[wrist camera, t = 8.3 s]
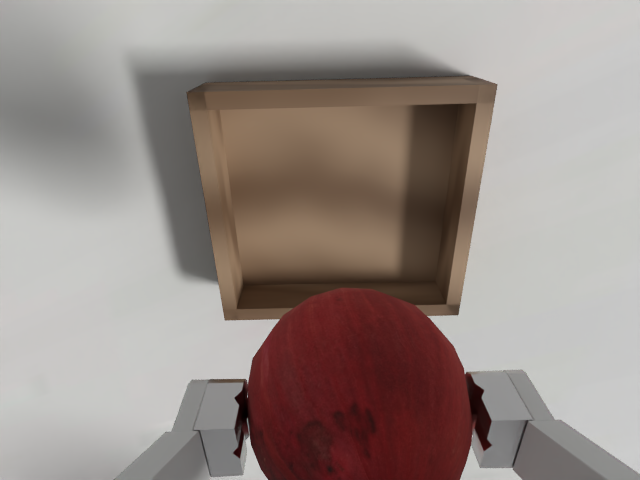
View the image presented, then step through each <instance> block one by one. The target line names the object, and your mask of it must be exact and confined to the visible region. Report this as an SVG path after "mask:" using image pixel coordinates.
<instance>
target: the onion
mask: <svg viewBox="0 0 640 480" xmlns="http://www.w3.org/2000/svg"><path fill="white" fill-rule="evenodd" d="M247 418H248V425H249V432H250V440H251V446H252V448H253V451H254V453H255V456H256V458H257V461H258V463H259V465H260V468H261V470H262V471H263V473H264V474H265V476H266V477H267V479H268V480H460V477H461V475H462V472H463V469H464V467H465V464H466V461H467V457H468V454H469V450H470V446H471V442H472V428H473V421H472V415H471V408H470V402H469V396H468V391H467V385H466V379H465V373H464V368H463V366H462V364H461V361H460V359H459V357H458V355H457V353H456V351H455V348H454V346H453V345H452V344H451V343H450V342H449V340H448V339H447V338H446V337H445V336H444V335H443V333H442V332H441V331H440V330H439V329H438V328H437V327H436V325H435V324H434V323H433V322H432V321H431V320H430V318H428V317H427V316H426V315H425V314H424V313H423V312H422V311H421V310H420V309H419V308H417V307H416V306H415V305H414V304H411V303H408V302H406V301H403V300H400V299H398V298H395V297H392V296H390V295H387V294H385V293H382V292H379V291H376V290H373V289H360V288H339V289H335V290H332V291H328V292H325V293H321V294H318V295H314V296H311V297H309V298H308V299H307V300H305V301H304V302H302V303H301V304H299V305H298V306H296V307H295V308H293V309H292V310H290V311H289V312H287V313H286V314H284V315H283V316H282V318H281V319H280V320H279V322H278V323H277V324H276V325H275V327H274V328H273V329H272V331H271V332H270V334H269V335H268V337H267V338H266V340H265V341H264V343H263V344H262V346H261V347H260V349H259V350H258V352H257V353H256V354H255V356H254V357H253V360H252V365H251V371H250V376H249V382H248V416H247Z"/></svg>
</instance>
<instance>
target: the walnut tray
mask: <svg viewBox="0 0 640 480" xmlns="http://www.w3.org/2000/svg"><path fill="white" fill-rule="evenodd" d="M496 90H497V84H495V83H492V82H489V81H486V80H483V79H480V78H476V77H473V76H446V77H407V78H369V79H330V80H291V81H253V82H214V83H204V84H202V85H200V86H198V87H196V88H194V89H192V90H190V91H188V92H187V98H188V104H189V110H190V116H191V122H192V128H193V134H194V140H195V146H196V152H197V158H198V164H199V169H200V175H201V181H202V187H203V193H204V199H205V205H206V211H207V217H208V223H209V229H210V235H211V241H212V247H213V253H214V259H215V265H216V271H217V277H218V283H219V288H220V294H221V300H222V306H223V312H224V318H225V320H262V319H281V318H282V316H283V315H284V314H286V313H287V312H289V311H290V310H292V309H293V308H295V307H296V306H298V305H299V304H301V303H302V302H304V301H305V300H307V299H308V298H309V297H311V296H314V295H318V294H321V293H325V292H328V291H332V290H335V289H339V288H360V289H373V290H376V291H379V292H382V293H385V294H387V295H390V296H392V297H395V298H398V299H400V300H403V301H406V302H408V303H411V304H414V305H415V306H416V307H417V308H419V309H420V310H421V311H422V312H423V313H424V314H425V315H426V316H442V315H458V314H459V308H460V302H461V296H462V290H463V284H464V278H465V272H466V266H467V261H468V255H469V249H470V243H471V237H472V231H473V225H474V219H475V213H476V208H477V202H478V196H479V190H480V184H481V178H482V172H483V166H484V160H485V155H486V149H487V143H488V137H489V131H490V125H491V119H492V113H493V107H494V102H495V96H496Z"/></svg>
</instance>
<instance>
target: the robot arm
mask: <svg viewBox="0 0 640 480" xmlns="http://www.w3.org/2000/svg"><path fill="white" fill-rule="evenodd" d="M465 379H466V385H467V391H468V396H469V402H470V408H471V415H472V421H473V428H472V435H473V437H472V442H471V446H472V448H473V451H474V453H475V456H476V459H477V461H478V464H479V467H480V468H513V470H514V471H515V472H516V473H517V474H518V475H519V476H520V477H521V478H522V479H523V480H640V474H639V473H637V472H636V471H634V470H633V469H631V468H630V467H629V466H627V465H626V464H624V463H623V462H621V461H620V460H618V459H617V458H615V457H614V456H613V455H611V454H610V453H608V452H607V451H605V450H604V449H602V448H601V447H599V446H598V445H597V444H595V443H594V442H592V441H591V440H589V439H588V438H586V437H585V436H584V435H582V434H581V433H579V432H578V431H576V430H575V429H573V428H572V427H570V426H569V425H568V424H566V423H565V422H563V421H562V420H555V419H554V417H553V416H552V414H551V413H550V411H549V409H548V408H547V406H546V404H545V403H544V401H543V400H542V398H541V396H540V395H539V393H538V392H537V390H536V388H535V387H534V385H533V384H532V382H531V380H530V379H529V377H528V376H527V374H526V372H524V371H523V370H504V371H477V372H466V374H465ZM247 394H248V384H247V380H246V379H210V380H191V381H190V383H189V384H188V386H187V389H186V392H185V395H184V398H183V400H182V403H181V406H180V409H179V412H178V415H177V417H176V420H175V423H174V426H173V429H172V432H165V433H164V434H163V435H162V436H161V437H160V438H159V439H158V440H157V441H155V442H154V443H153V444H152V445H151V446H150V447H149V448H148V449H147V450H146V451H145V452H144V453H142V454H141V455H140V456H139V457H138V458H137V459H136V460H135V461H134V462H133V463H132V464H131V465H129V466H128V467H127V468H126V469H125V470H124V471H123V472H122V473H121V474H120V475H119V476H118V477H116V478H115V479H114V480H211V478H210V477H221V476H237V475H243V473H244V467H245V461H246V455H247V448H246V442H245V440H246V439H247V438H248V437H249V436H250V432H249V425H248V418H247V416H248V398H247Z"/></svg>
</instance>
